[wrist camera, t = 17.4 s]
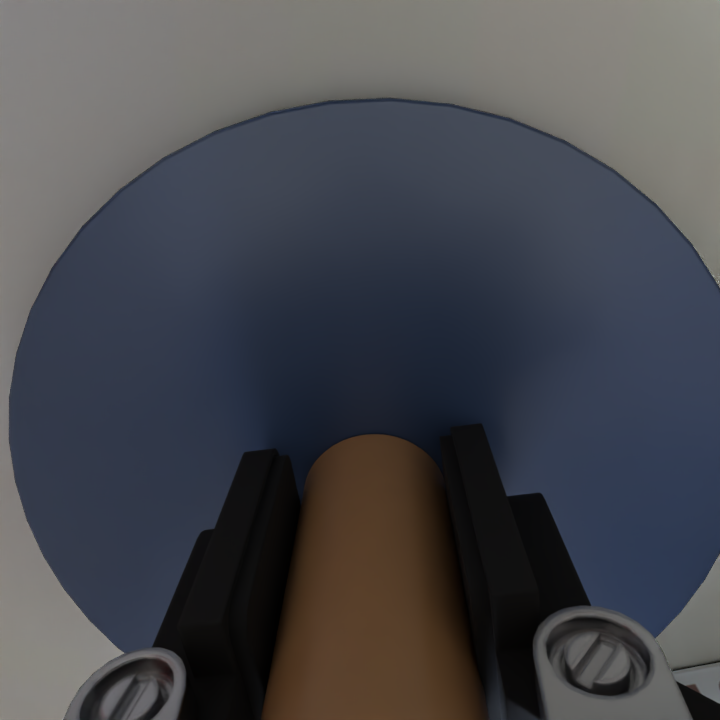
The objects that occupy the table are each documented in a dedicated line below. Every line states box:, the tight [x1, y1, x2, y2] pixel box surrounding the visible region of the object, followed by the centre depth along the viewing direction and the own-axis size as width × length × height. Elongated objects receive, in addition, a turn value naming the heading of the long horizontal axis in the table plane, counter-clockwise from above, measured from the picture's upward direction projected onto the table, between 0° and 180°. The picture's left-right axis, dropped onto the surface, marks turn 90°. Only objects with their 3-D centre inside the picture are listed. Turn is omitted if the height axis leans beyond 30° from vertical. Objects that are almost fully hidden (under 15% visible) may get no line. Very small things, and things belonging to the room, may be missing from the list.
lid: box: [9, 98, 720, 720], centre depth 9 cm, size 13×13×7 cm
